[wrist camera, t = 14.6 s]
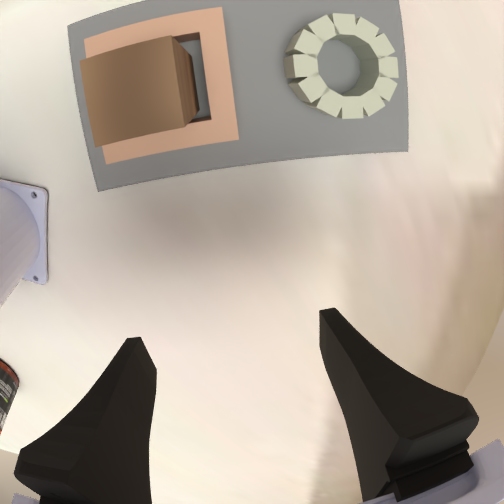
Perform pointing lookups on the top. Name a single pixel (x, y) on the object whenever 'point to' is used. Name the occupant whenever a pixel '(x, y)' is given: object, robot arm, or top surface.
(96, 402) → the robot arm
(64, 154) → the top surface
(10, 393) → the supplement bottle
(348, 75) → the socket block
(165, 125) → the square bit
